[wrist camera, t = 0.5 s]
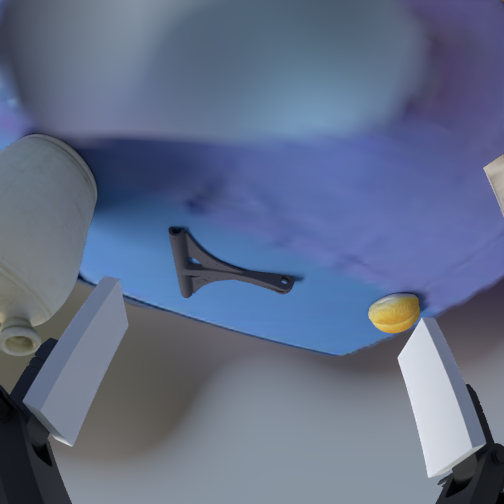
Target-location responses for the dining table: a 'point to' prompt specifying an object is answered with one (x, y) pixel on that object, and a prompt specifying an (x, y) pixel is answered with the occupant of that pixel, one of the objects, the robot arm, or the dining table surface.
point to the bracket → (215, 268)
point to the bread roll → (395, 312)
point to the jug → (40, 234)
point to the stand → (497, 179)
